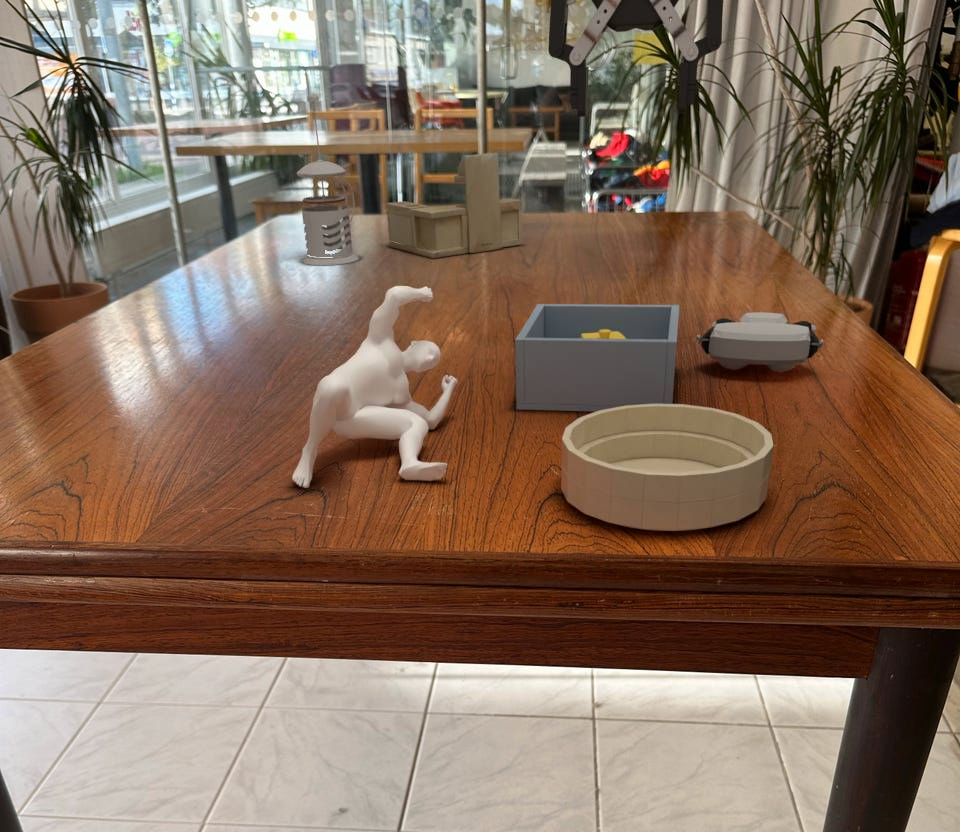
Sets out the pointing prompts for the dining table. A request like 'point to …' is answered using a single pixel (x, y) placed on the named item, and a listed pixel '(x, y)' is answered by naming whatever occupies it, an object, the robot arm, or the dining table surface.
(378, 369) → the person figurine
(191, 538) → the dining table surface
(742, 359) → the robot toy
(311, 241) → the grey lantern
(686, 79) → the robot arm
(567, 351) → the bin
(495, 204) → the toy kitchen set
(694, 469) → the bowl
